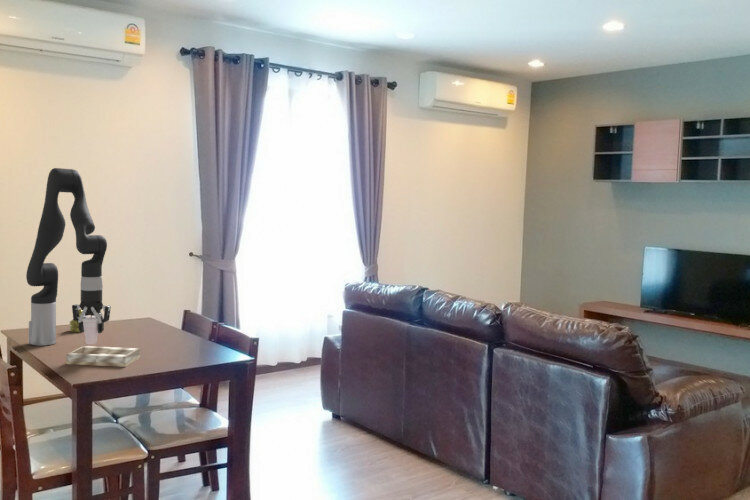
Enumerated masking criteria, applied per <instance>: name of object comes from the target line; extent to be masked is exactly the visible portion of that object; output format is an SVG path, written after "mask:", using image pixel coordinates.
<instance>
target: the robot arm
mask: <svg viewBox="0 0 750 500" xmlns="http://www.w3.org/2000/svg"><path fill="white" fill-rule="evenodd" d="M82 179H83V178H82V176H81V174H80V172H79V171H78V170H76V169H73V168H61V167H55V168H54V167H53V168H52V169H51V170H50V171H49V173H48V176H47V182H46V187H45V188H46V189H45V197H44V204H43V209H42V214H41V217H40V221H39V224H38V225H39V226H38V229H37V235H36V239H35V243H34V248H33V251H32V253H31V257H30V260H29V261H28V262H29V263H28V265H27V269H26V275H25V276H26V281H27V285H29V286H31V287H42V289H40V291H38V292H36V293H33V294H32V295H31V297H30V320H29V321H28V345H32V346H39V347H41V346H50V345H51V346H52V345H55V344H56V343H57V297H58V283H59V270H58V266H57V265H56V264H55V263H53V262H46V263H45V260H46V258H47V256H48V255H49V254H50V253H51V252H52V251H53V250H54V249H55V248H56V247H57V246H58V245H59V244H60V242H61V241H62V240H63V237H64V233H65V229H66V219H65V217H64V215H63V212H62V210H61V209H60V206H59V195H60V193H70V194H72V195H73V198H74V201H73V204H72V206H71V209H70V214H69V216H70V217H69V218H70V221H71V223H72V225H73V228H74V230H75V231H74V233H75V246H76V247H75V248H76V250H77V251H78V253H80V254H81V255H92V257H91V258H90V259H87V260H84V261H82V263H81V267H80V269H81V273H80V274H81V277H80V303H79V304H77V303H75V304H73V305H71V311H72V318H73V319H72V320H74V321H78V323H79V331H80V332H79V333H84V326H83V321H82V318H84V317H88V316H91V315H92V317H96V318H97V320H98V322H99V324H98V334H101V333H103V332H104V330H105V328H104V327H105V324H104V323H106V322H108V321H109V320H110V315H111V305H104V303H103V289H104V288H103V287H104V286H103V277H102V276H103V273H102V269H103V263H104V259H105V256H106V252H107V249H108V242H107V240H106V238H105V237H104V236H103V235H101V234H95V235H94V234H93V233H94V231H95V229H96V226H95V223H94V220H93V218H92V216H91V213H90V210H89V208H88V203H87V198H86V194H85V193H86V192H85V189H84V182H83V180H82ZM79 309H81V310H82V313H81V315H80V318H79ZM102 310H103V312H104V313H102Z"/></svg>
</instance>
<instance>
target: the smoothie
mask: <svg viewBox="0 0 750 500" xmlns="http://www.w3.org/2000/svg"><path fill="white" fill-rule="evenodd" d="M82 321H83V326H84V332H83V333H84V334H83V335H84V340H85V344H86V345H97V341H98V334H99V333H98V324H99V322H98V320H97V318H96V317H95V316H92V315H90V316H86V317H84V318H82Z"/></svg>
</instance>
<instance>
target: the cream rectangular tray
mask: <svg viewBox="0 0 750 500" xmlns="http://www.w3.org/2000/svg"><path fill="white" fill-rule="evenodd" d="M140 358H141V348H137V347H136V348H135V347H120V346H119V347H116V346H92V345H82V346H81V347H79V348H76V349H74V350H73V351H70V352H68V353H66V356H65V359H66V360H65V361H66V363H65V364H66V365H78V366H98V367H99V366H101V367H102V366H103V367H118V368H119V367H121V368H123V367H124V368H126V367H128V366H129V365H131V364H133V363H134V362H136V361H137V360H139V359H140Z"/></svg>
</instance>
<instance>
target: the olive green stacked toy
mask: <svg viewBox="0 0 750 500" xmlns="http://www.w3.org/2000/svg"><path fill="white" fill-rule="evenodd" d="M81 313H82V310H81V308H80V309H79V318H80V315H81ZM69 332H70V333H81V332H80V331H79V323H78V321H74V320H73V319H72V320H70V321H69Z"/></svg>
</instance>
